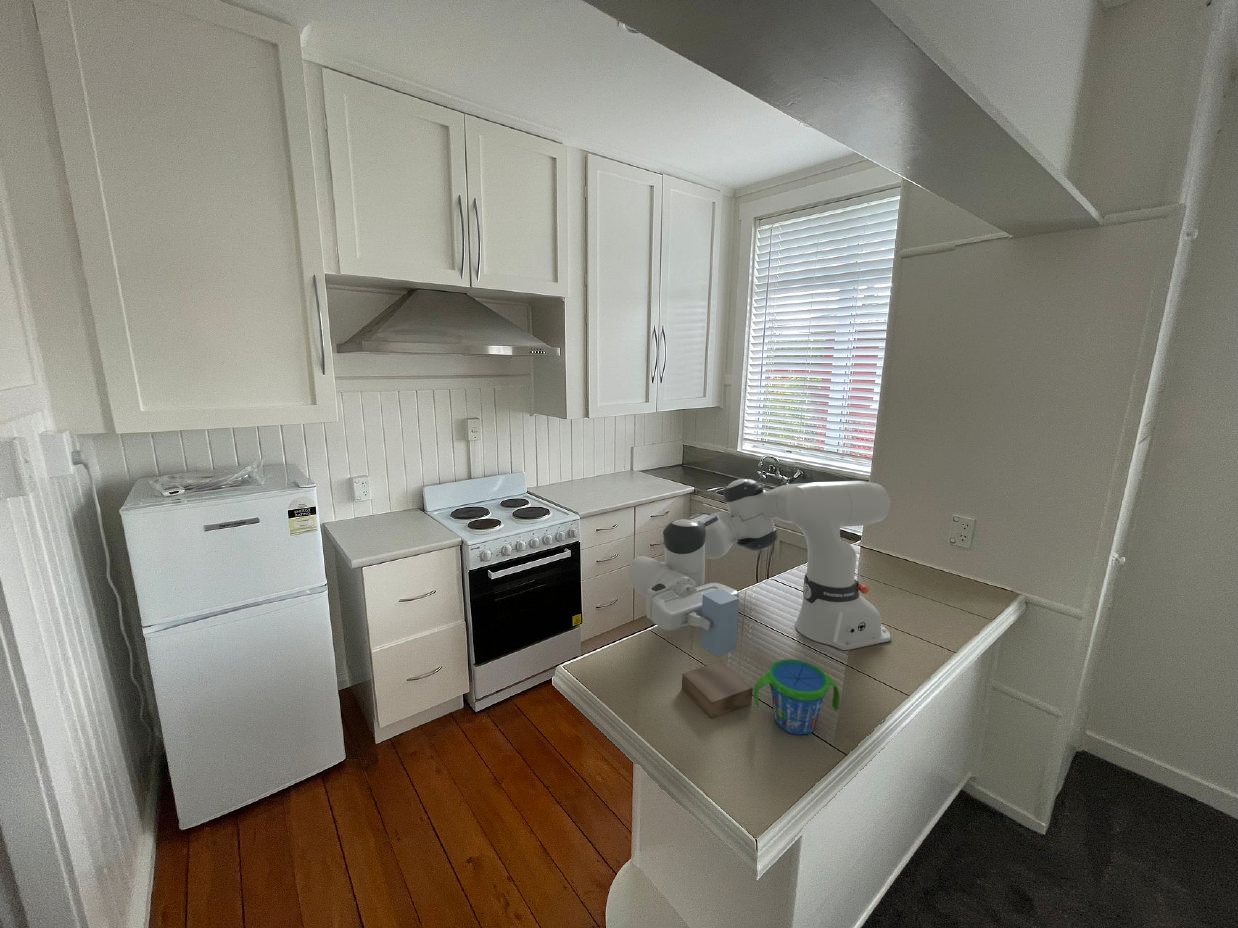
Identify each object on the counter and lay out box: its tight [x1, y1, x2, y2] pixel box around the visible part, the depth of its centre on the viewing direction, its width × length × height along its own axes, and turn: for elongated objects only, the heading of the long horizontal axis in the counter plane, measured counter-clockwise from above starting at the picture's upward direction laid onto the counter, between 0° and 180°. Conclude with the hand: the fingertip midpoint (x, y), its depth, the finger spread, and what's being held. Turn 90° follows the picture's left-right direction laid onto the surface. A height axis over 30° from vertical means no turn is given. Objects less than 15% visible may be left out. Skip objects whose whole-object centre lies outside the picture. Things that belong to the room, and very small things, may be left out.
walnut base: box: [681, 660, 754, 720], centre depth 103 cm, size 10×10×4 cm
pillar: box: [699, 589, 740, 658], centre depth 101 cm, size 5×5×11 cm
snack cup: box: [753, 658, 841, 735], centre depth 95 cm, size 16×10×10 cm
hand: (722, 621), depth 100 cm, fingers closed on pillar, 5 cm apart
